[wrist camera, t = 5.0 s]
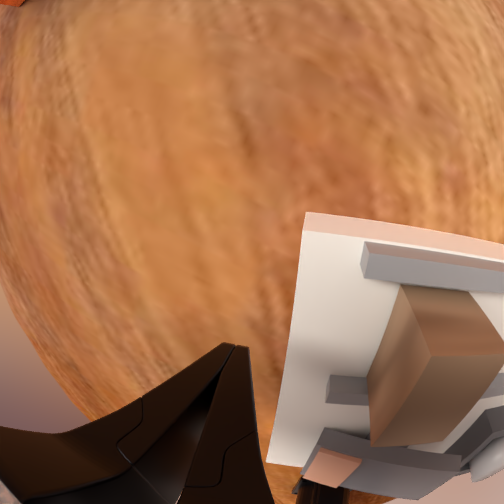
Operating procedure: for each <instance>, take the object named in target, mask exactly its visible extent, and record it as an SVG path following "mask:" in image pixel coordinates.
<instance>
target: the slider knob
mask: <svg viewBox="0 0 504 504" xmlns="http://www.w3.org/2000/svg"><path fill="white" fill-rule="evenodd" d="M503 365H504V341H503V339H502V338H501V336H500V335H499V333H498V332H497V330H496V329H495V327H494V326H493V324H492V323H491V321H490V320H489V319H488V317H487V316H486V314H485V313H484V312H483V310H482V309H481V307H480V306H479V305H478V303H477V302H476V301H475V299H474V298H473V297H472V296H471V294H470V293H469V292H468V291H459V290H449V289H440V288H430V287H421V286H412V285H403V284H400V287H399V290H398V294H397V297H396V300H395V303H394V306H393V309H392V312H391V315H390V318H389V321H388V324H387V327H386V329H385V332H384V335H383V337H382V340H381V343H380V345H379V348H378V350H377V353H376V355H375V357H374V360H373V362H372V364H371V367H370V369H369V371H368V374H367V376H366V378H367V388H368V400H369V416H370V439H371V447H390V446H406V445H417V444H426V443H433V442H440V441H443V440H444V439H445V438H446V437H447V436H448V435H449V434H450V433H451V432H452V431H453V430H454V429H455V428H456V426H457V425H458V424H459V423H460V422H461V421H462V420H463V419H464V417H465V416H466V415H467V414H468V413H469V412H470V410H471V409H472V408H473V407H474V406H475V404H476V403H477V402H478V400H479V399H480V398H481V397H482V395H483V394H484V393H485V391H486V390H487V389H488V387H489V386H490V384H491V383H492V382H493V380H494V379H495V377H496V376H497V374H498V373H499V371H500V370H501V368H502V367H503Z"/></svg>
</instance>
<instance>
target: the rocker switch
mask: <svg viewBox="0 0 504 504" xmlns="http://www.w3.org/2000/svg"><path fill="white" fill-rule="evenodd" d="M460 467H461V455H452V454H442V453H434V452H426V451H420V450H414V449H408V448H403V447H397V446H390V447H371V441H370V440H366V439H363V438H359V437H355V436H352V435H348V434H345V433H341V432H338V431H335V430H331V429H328V428H325V427H324V429H323V431H322V433H321V435H320V437H319V439H318V441H317V443H316V445H315V447H314V449H313V451H312V453H311V454H310V456H309V458H308V460H307V462H306V464H305V465H304V467H303V469H302V471H301V473H300V474H302V475H304V476H303V478H305V479H308V480H311V481H314V482H317V483H320V484H324V485H327V486H330V487H334V488H337V487H338V486H341V487H345V488H349V489H353V490H357V491H362V492H366V493H371V494H377V495H382V496H389V497H395V498H403V499H412V500H419V499H420V498H422V497H424V496H425V495H427V494H429V493H430V492H432V491H433V490H435V489H436V488H438V487H439V486H441V485H442V484H444V483H445V482H447V481H448V480H449V479H451V478H452V477H454V476H455V475H456V474H458V473H459V472H460Z"/></svg>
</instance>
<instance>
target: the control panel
mask: <svg viewBox="0 0 504 504" xmlns="http://www.w3.org/2000/svg"><path fill="white" fill-rule="evenodd" d="M400 284H403V285H412V286H421V287H430V288H440V289H449V290H459V291H468V292H469V293H470V294H471V296H472V297H473V298H474V299H475V301H476V302H477V303H478V305H479V306H480V307H481V309H482V310H483V312H484V313H485V314H486V316H487V317H488V319H489V320H490V321H491V323H492V324H493V326H494V327H495V329H496V330H497V332H498V333H499V335H500V336H501V338H502V339H503V341H504V244H500V243H496V242H491V241H487V240H482V239H477V238H472V237H467V236H462V235H457V234H452V233H447V232H442V231H436V230H431V229H425V228H419V227H413V226H407V225H401V224H395V223H388V222H382V221H375V220H368V219H361V218H354V217H346V216H338V215H330V214H322V213H314V212H306V215H305V220H304V225H303V231H302V240H301V250H300V259H299V268H298V276H297V284H296V292H295V300H294V307H293V314H292V321H291V328H290V335H289V341H288V348H287V354H286V360H285V366H284V372H283V378H282V384H281V389H280V395H279V400H278V406H277V411H276V416H275V421H274V426H273V431H272V436H271V441H270V445H269V450H268V454H267V459H266V462H268V463H274V464H281V465H288V466H297V467H304V465H305V464H306V462H307V460H308V458H309V456H310V454H311V453H312V451H313V449H314V447H315V445H316V443H317V441H318V439H319V437H320V435H321V433H322V431H323V429H324V427H325V428H328V429H331V430H335V431H338V432H341V433H345V434H348V435H352V436H355V437H359V438H363V439H366V440H370V441H371V439H370V416H369V400H368V388H367V378H366V376H367V374H368V371H369V369H370V367H371V364H372V362H373V360H374V357H375V355H376V353H377V350H378V348H379V345H380V343H381V340H382V337H383V335H384V332H385V329H386V327H387V324H388V321H389V318H390V315H391V312H392V309H393V306H394V303H395V300H396V297H397V294H398V290H399V287H400ZM501 436H504V365H503V367H502V368H501V370H500V371H499V373H498V374H497V376H496V377H495V379H494V380H493V382H492V383H491V384H490V386H489V387H488V389H487V390H486V391H485V393H484V394H483V395H482V397H481V398H480V399H479V400H478V402H477V403H476V404H475V406H474V407H473V408H472V409H471V410H470V412H469V413H468V414H467V415H466V416H465V417H464V419H463V420H462V421H461V422H460V423H459V424H458V425H457V426H456V428H455V429H454V430H453V431H452V432H451V433H450V434H449V435H448V436H447V437H446V438H445V439H444V440H443V441H440V442H433V443H426V444H417V445H406V446H397V447H403V448H408V449H414V450H420V451H426V452H434V453H442V454H452V455H461V467H460V472H459V473H458V474H456V475H455V476H457V475H461V474H465V473H468V472H470V466H469V461H470V460H471V459H472V458H473V457H474V456H476V455H477V454H478V453H479V452H480V451H481V450H482V449H483V448H485V447H486V446H487V445H488V444H489V443H490V442H491V441H492V440H493V439H495V438H498V437H501Z"/></svg>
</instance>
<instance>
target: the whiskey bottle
mask: <svg viewBox="0 0 504 504" xmlns="http://www.w3.org/2000/svg"><path fill="white" fill-rule="evenodd" d="M24 1H25V0H0V4H4V5H11V6H17V7H19V6H20V5H21V4H22V3H23V2H24Z"/></svg>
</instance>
